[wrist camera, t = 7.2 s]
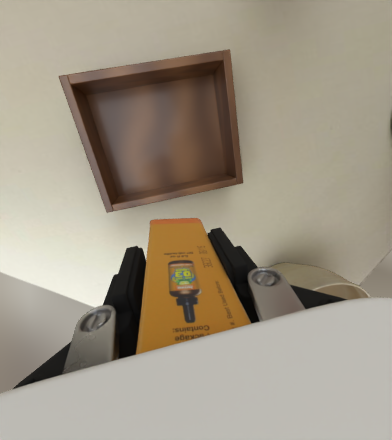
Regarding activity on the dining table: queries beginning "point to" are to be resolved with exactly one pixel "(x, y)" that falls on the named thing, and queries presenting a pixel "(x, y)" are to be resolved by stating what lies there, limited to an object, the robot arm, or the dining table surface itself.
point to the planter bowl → (320, 281)
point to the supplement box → (184, 287)
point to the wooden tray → (158, 128)
